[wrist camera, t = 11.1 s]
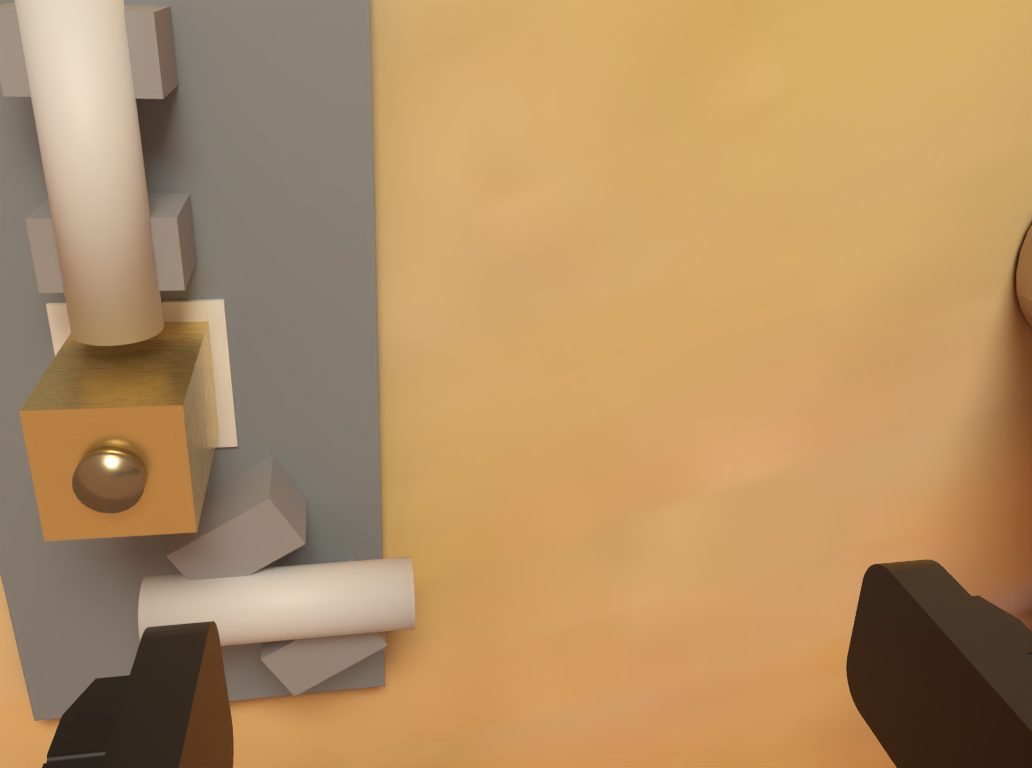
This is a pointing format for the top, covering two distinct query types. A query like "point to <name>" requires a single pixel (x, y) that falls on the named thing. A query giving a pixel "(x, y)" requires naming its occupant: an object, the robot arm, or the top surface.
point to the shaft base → (232, 325)
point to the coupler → (123, 436)
